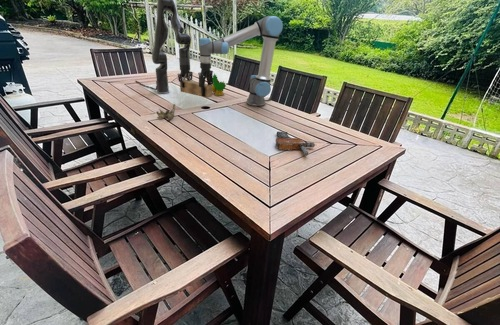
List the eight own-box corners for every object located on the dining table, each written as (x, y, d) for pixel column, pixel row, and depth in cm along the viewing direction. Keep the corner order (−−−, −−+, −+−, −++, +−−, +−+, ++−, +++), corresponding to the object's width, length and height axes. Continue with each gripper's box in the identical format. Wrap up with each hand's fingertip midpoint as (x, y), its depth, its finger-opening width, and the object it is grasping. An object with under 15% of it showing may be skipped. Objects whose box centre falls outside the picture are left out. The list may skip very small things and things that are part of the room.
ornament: (225, 100, 236) (233, 86, 230) (219, 99, 230) (226, 84, 223) (213, 88, 246) (220, 74, 239) (206, 87, 239) (213, 72, 232)
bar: (180, 91, 201) (179, 80, 197) (185, 90, 205) (185, 79, 201) (207, 97, 190) (207, 86, 186) (212, 96, 194) (212, 85, 190)
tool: (272, 130, 160) (281, 150, 133) (314, 131, 162) (332, 151, 136) (271, 136, 161) (280, 157, 135) (313, 137, 164) (330, 158, 138)
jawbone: (182, 108, 180) (175, 98, 171) (172, 126, 173) (165, 116, 165) (170, 106, 182) (164, 96, 174) (161, 124, 176) (153, 114, 168)
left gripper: (187, 61, 199) (188, 84, 207) (173, 63, 188) (175, 87, 196) (195, 63, 196) (196, 86, 204) (181, 65, 184) (183, 89, 193)
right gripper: (201, 64, 173) (202, 99, 185) (217, 61, 188) (217, 94, 199) (192, 63, 176) (193, 97, 188) (209, 60, 191) (210, 92, 202)
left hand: (186, 86), depth 200 cm, fingers closed on bar, 5 cm apart
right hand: (206, 95), depth 193 cm, fingers closed on bar, 6 cm apart
